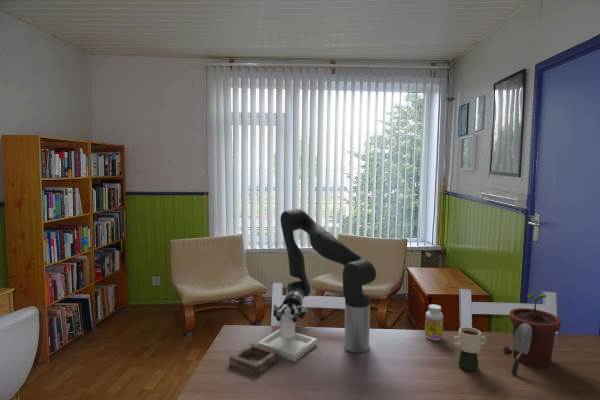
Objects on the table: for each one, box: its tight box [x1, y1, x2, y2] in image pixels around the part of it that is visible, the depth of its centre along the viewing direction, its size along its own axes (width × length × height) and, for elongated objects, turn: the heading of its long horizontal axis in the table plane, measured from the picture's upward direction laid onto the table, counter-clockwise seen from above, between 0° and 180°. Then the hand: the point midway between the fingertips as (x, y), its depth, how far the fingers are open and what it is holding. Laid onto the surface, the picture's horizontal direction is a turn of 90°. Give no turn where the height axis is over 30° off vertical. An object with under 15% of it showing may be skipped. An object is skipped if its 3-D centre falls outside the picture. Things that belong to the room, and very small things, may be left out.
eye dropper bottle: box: [279, 306, 296, 339], centre depth 150 cm, size 4×6×12 cm
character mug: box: [452, 326, 487, 372], centre depth 136 cm, size 11×7×13 cm, turn 91°
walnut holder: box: [228, 343, 279, 376], centre depth 139 cm, size 12×12×3 cm
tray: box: [256, 328, 318, 362], centre depth 151 cm, size 15×17×2 cm
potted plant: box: [502, 292, 562, 376], centre depth 140 cm, size 18×22×25 cm
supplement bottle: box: [424, 303, 444, 341], centre depth 159 cm, size 7×7×13 cm
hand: (286, 319), depth 147 cm, fingers closed on eye dropper bottle, 5 cm apart
